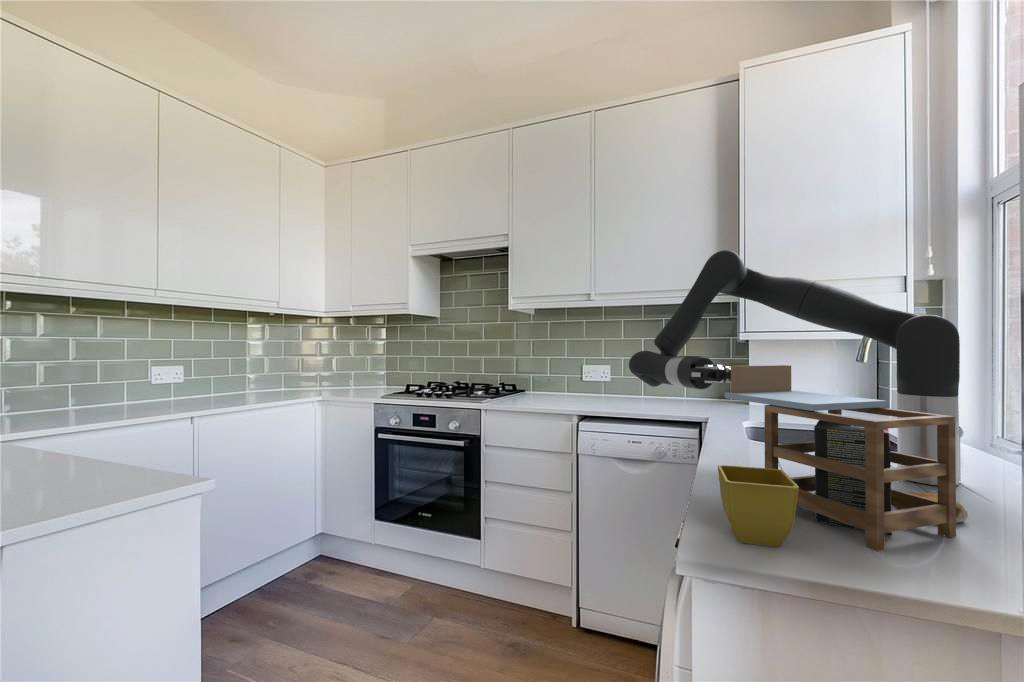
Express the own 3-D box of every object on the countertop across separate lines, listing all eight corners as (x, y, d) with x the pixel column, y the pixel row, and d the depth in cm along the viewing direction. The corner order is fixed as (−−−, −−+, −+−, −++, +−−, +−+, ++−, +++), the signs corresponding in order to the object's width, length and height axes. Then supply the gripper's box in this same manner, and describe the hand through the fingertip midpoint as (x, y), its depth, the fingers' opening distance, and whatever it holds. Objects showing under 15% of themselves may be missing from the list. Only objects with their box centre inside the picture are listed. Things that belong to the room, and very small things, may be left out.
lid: (789, 395, 91) (789, 365, 91) (886, 406, 74) (886, 369, 74) (724, 398, 86) (724, 366, 86) (812, 411, 69) (812, 371, 69)
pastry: (880, 504, 79) (881, 482, 79) (919, 504, 79) (919, 482, 79) (931, 525, 70) (931, 500, 70) (975, 526, 70) (975, 500, 70)
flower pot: (800, 557, 59) (800, 486, 59) (726, 548, 61) (725, 480, 61) (782, 530, 67) (781, 469, 67) (717, 523, 70) (717, 464, 70)
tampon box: (893, 538, 64) (892, 432, 64) (813, 522, 70) (813, 425, 70) (889, 515, 73) (888, 422, 73) (819, 502, 78) (818, 416, 79)
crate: (834, 497, 82) (833, 401, 82) (956, 536, 65) (955, 416, 65) (764, 506, 77) (764, 405, 78) (876, 551, 60) (876, 421, 61)
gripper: (665, 356, 105) (720, 357, 89) (712, 355, 109) (774, 357, 93) (665, 388, 105) (721, 396, 89) (712, 387, 109) (774, 394, 93)
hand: (748, 376), depth 91 cm, fingers closed
